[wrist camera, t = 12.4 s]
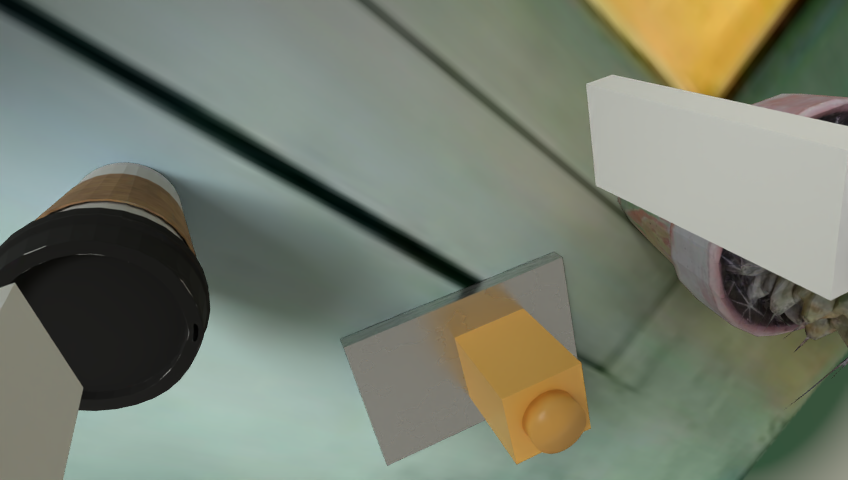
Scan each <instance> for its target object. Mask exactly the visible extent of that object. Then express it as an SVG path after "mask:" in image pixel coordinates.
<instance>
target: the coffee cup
mask: <svg viewBox="0 0 848 480" xmlns="http://www.w3.org/2000/svg"><path fill="white" fill-rule="evenodd" d="M12 283H16V285H17V287H18V288H19V290H20V291H21V293H22V294H23V296H24V297H25V299H26V300H27V302H28V303H29V305H30V307H31V308H32V310H33V311H34V313H35V314H36V316H37V317H38V319H39V320H40V322H41V323H42V325H43V327H44V328H45V330H46V331H47V333H48V334H49V336H50V337H51V339H52V340H53V342H54V343H55V345H56V347H57V348H58V350H59V351H60V353H61V354H62V356H63V357H64V359H65V360H66V362H67V363H68V365H69V367H70V368H71V370H72V371H73V373H74V374H75V376H76V377H77V379H78V380H79V382H80V383H81V385H82V386H83V392H82V396H81V400H80V405H79V409H78V410H86V411H99V410H111V409H119V408H123V407H128V406H132V405H137V404H139V403H142V402H145V401H147V400H150V399H153V398H155V397H157V396H158V395H160V394H162V393H164V392H166V391H167V390H169V389H170V388H171V387H172V386H173V385H175V384H176V383H177V382H178V381H179V380H180V379H181V378H182V376H183V375H184V374H185V373H186V371H187V370H188V369H189V367H190V365H191V364H192V362H193V360H194V358H195V357H196V355H197V353H198V350H199V348H200V346H201V343H202V340H203V337H204V333H205V331H206V328H207V325H208V320H209V314H210V300H209V292H208V284H207V281H206V278H205V275H204V271H203V269H202V267H201V265H200V263H199V262H198V260H197V258H196V255H195V251H194V248H193V244H192V241H191V238H190V234H189V231H188V227H187V224H186V220H185V217H184V214H183V209H182V205H181V201H180V198H179V195H178V194H177V192H176V190H175V188H174V187H173V185H172V184H171V183H170V182H169V181H168V180H167V179H166V178H165V177H164V176H162V175H161V174H160V173H158V172H157V171H155V170H153V169H151V168H149V167H146V166H143V165H140V164H134V163H114V164H109V165H105V166H103V167H100V168H98V169H96V170H94V171H93V172H91V173H90V174H88V175H87V176H86V177H85V178H83V179H82V180H81V181H80V182H79V183H78V184H77V185H76V186H75V187H74V188H72V189H71V190H70V191H69V192H67V193H66V194H65V195H64V196H63V197H62V198H60V199H59V200H58V201H57V202H56V203H54V204H53V205H52V206H51V207H50V208H49V209H47V210H46V211H45V212H44V213H43V214H41V215H40V216H39V217H38V218H37V219H36V220H34V221H32V222H31V223H29V224H27V225H26V226H24V227H23V228H21V229H20V230H18V231H16V232H15V233H13V234H12V235H11V236H10V237H9V238H8V239H7V240H6V241H5V242H4V243H3V244H2V245H1V246H0V288H1V287H4V286H7V285H9V284H12Z"/></svg>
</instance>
